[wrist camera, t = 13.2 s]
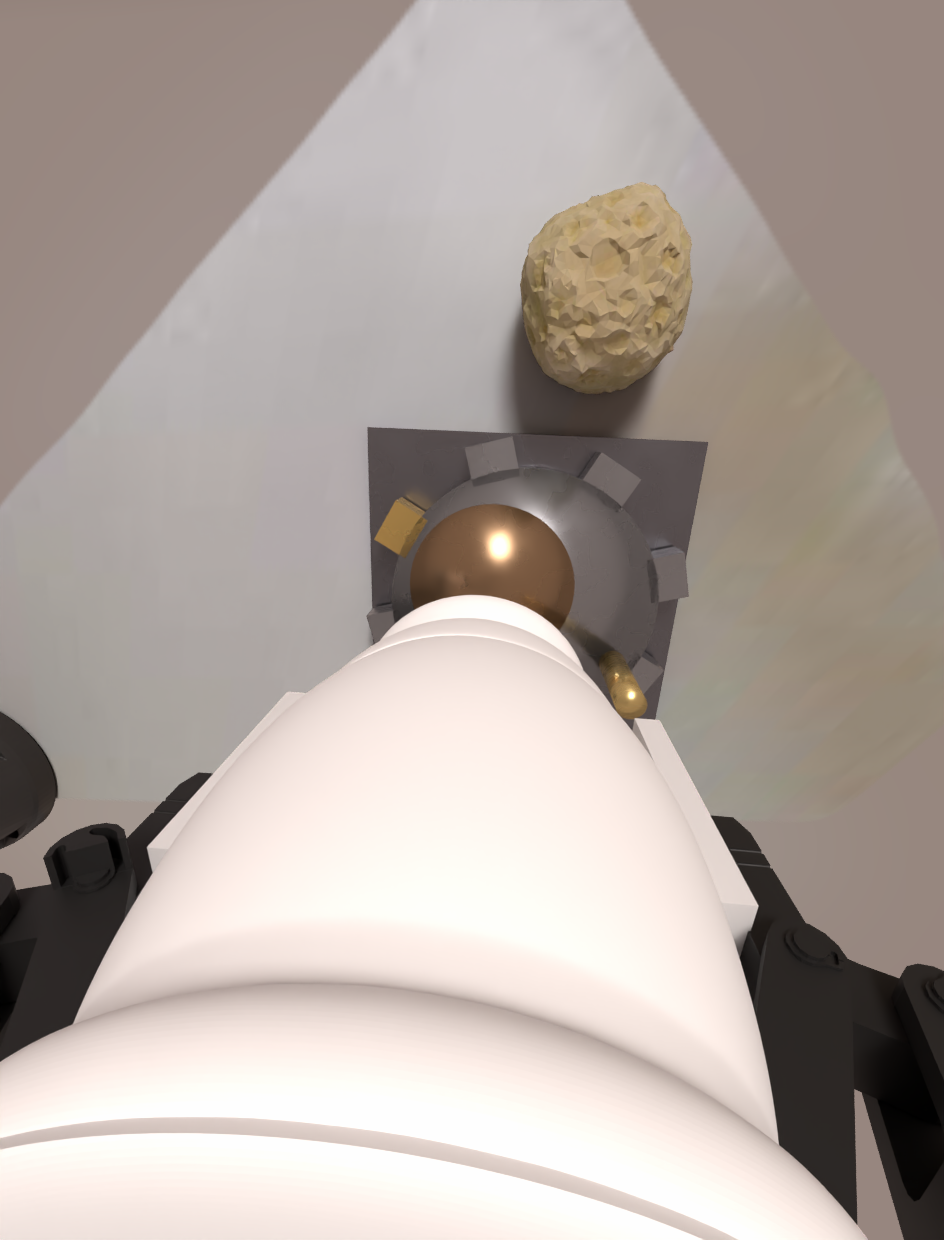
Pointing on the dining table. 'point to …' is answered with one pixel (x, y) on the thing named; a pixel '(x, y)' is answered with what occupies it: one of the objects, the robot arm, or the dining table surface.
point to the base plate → (440, 464)
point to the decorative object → (607, 289)
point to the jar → (418, 987)
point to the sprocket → (542, 560)
